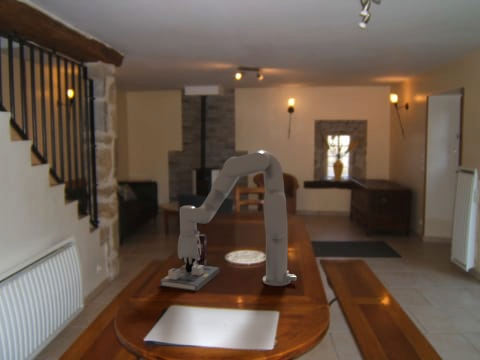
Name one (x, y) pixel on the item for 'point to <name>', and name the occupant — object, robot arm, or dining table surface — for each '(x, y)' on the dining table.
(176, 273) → the switch
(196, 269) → the switch
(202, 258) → the supplement box
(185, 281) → the switch unit
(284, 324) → the dining table surface
